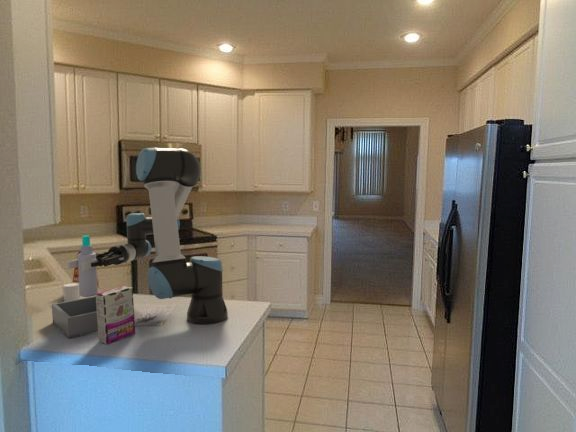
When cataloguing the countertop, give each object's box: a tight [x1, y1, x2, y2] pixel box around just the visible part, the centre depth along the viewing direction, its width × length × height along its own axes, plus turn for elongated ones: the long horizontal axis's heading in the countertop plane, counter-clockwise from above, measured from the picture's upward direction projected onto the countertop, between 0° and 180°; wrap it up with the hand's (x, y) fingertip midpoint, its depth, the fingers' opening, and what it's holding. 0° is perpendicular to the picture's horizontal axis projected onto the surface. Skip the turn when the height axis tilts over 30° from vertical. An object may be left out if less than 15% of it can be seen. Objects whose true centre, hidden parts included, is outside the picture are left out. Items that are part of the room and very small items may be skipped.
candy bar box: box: [95, 285, 136, 345], centre depth 142 cm, size 11×5×16 cm, turn 148°
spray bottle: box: [77, 235, 99, 298], centre depth 156 cm, size 6×6×22 cm
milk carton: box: [71, 248, 100, 293], centre depth 200 cm, size 9×9×20 cm
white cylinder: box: [61, 282, 80, 302], centre depth 184 cm, size 7×7×7 cm
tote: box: [51, 295, 98, 340], centre depth 154 cm, size 20×16×7 cm
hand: (75, 265), depth 152 cm, fingers closed on spray bottle, 6 cm apart
